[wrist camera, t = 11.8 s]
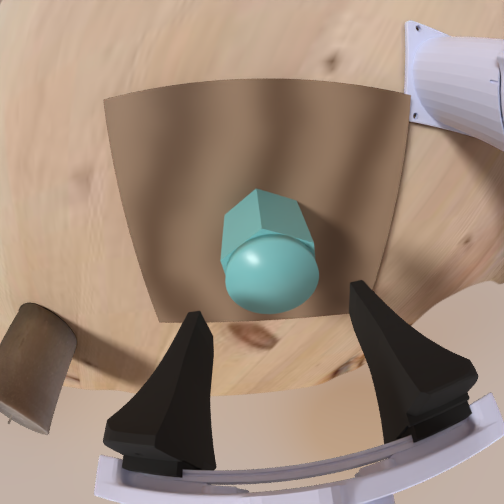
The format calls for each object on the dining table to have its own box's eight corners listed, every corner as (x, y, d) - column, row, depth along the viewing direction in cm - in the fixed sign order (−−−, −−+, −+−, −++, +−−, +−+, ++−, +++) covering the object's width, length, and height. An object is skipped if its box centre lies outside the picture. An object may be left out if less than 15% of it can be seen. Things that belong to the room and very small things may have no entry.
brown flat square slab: (402, 93, 15) (410, 95, 14) (361, 303, 27) (364, 311, 26) (110, 97, 15) (103, 99, 14) (161, 313, 26) (159, 322, 25)
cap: (293, 181, 18) (315, 227, 13) (303, 251, 21) (321, 309, 16) (219, 196, 18) (211, 247, 13) (239, 264, 22) (239, 324, 17)
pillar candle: (9, 302, 26) (-37, 391, 13) (54, 301, 25) (3, 414, 13) (44, 348, 31) (14, 432, 19) (90, 353, 31) (62, 452, 19)
